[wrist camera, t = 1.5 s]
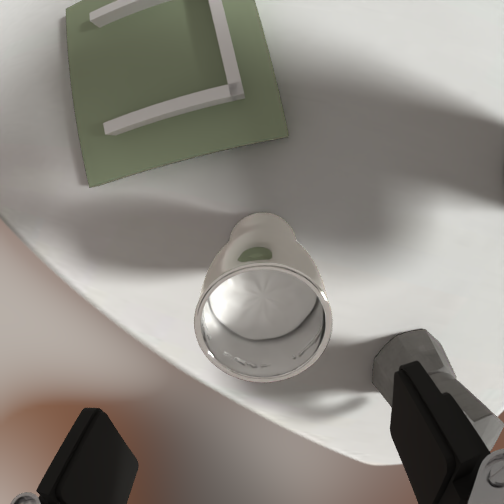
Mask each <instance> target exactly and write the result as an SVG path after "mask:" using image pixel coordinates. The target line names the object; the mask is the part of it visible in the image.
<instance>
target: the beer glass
mask: <svg viewBox="0 0 504 504" xmlns="http://www.w3.org/2000/svg"><path fill="white" fill-rule="evenodd" d="M332 325H333V319H332V311H331V307H330V304H329V301H328V299H327V294H326V290H325V287H324V283H323V280H322V278H321V275H320V272H319V270H318V268H317V266H316V264H315V262H314V261H313V259H312V258H311V256H310V254H309V253H308V252H307V251H306V249H305V248H304V247H303V246H302V245H300V244H299V243H298V242H297V241H296V236H295V233H294V231H293V229H292V228H291V226H290V225H289V224H288V223H287V222H286V221H285V220H284V219H283V218H281V217H279V216H277V215H275V214H272V213H266V212H260V213H254V214H251V215H249V216H246V217H245V218H243V219H242V220H240V221H239V222H238V223H237V224H236V226H235V227H234V229H233V230H232V232H231V235H230V239H229V242H228V243H227V244H226V245H225V246H224V247H223V248H222V249H221V250H220V251H219V252H218V254H217V255H216V256H215V258H214V260H213V262H212V263H211V265H210V267H209V269H208V271H207V274H206V276H205V279H204V282H203V285H202V289H201V293H200V297H199V301H198V304H197V307H196V310H195V316H194V329H195V334H196V338H197V341H198V343H199V346H200V348H201V349H202V351H203V353H204V354H205V355H206V357H207V358H208V359H209V360H210V361H211V362H212V363H213V364H214V365H215V366H216V367H218V368H219V369H220V370H222V371H223V372H225V373H227V374H229V375H231V376H233V377H236V378H238V379H242V380H246V381H251V382H275V381H280V380H284V379H288V378H290V377H293V376H295V375H297V374H299V373H301V372H303V371H304V370H306V369H307V368H309V367H310V366H311V365H312V364H313V363H314V362H315V361H316V360H317V359H318V358H319V357H320V356H321V355H322V353H323V352H324V350H325V348H326V346H327V344H328V342H329V340H330V336H331V332H332Z"/></svg>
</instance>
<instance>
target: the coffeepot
mask: <svg viewBox="0 0 504 504" xmlns="http://www.w3.org/2000/svg"><path fill="white" fill-rule="evenodd" d="M416 360H417V361H419V362H420V363H421V365H422V366H423V368H424V369H425V370H426V372H427V373H428V375H429V376H430V377H431V379H432V380H433V382H434V383H435V385H436V386H437V387H438V389H439V390H440V392H441V393H444V392H448V393H450V394H451V395H452V396H453V398H454V399H455V401H456V402H457V403H458V405H459V406H460V408H461V409H462V411H463V412H464V414H465V415H466V416H467V418H468V419H469V421H470V422H471V424H472V425H473V427H474V428H475V430H476V431H477V433H478V434H479V436H480V437H481V439H482V440H483V442H484V443H485V445H486V447H487V448H488V450H489V451H490V450H492V448H493V446H494V444H495V442H496V441H497V439H498V437H499V435H500V433H501V431H502V429H503V427H504V423H503V422H502V421H501V420H500V419H499V418H498V417H497V416H496V415H495V414H494V413H492V412H491V411H490V410H489V409H488V408H487V407H486V406H485V405H484V404H483V403H482V402H481V401H480V400H479V399H477V398H476V397H475V396H474V395H473V394H472V393H471V392H470V391H469V390H468V389H467V388H465V387H464V386H463V385H462V384H461V383H460V382H459V381H457V380H456V375H455V373H454V371H453V368H452V366H451V364H450V362H449V360H448V358H447V356H446V353H445V351H444V349H443V347H442V345H441V343H440V342H439V341H437V340H436V339H435V338H434V337H433V336H432V335H431V334H430V333H429V332H428V331H427V330H425V329H424V330H415V331H409V332H406V333H403V334H401V335H397V336H396V337H394V338H393V339H392V340H391V341H390V342H388V343H387V344H386V345H385V346H384V347H383V349H382V350H381V351H380V352H379V354H378V355H377V356H376V357H375V358H374V365H373V381H372V383H373V384H374V385H375V387H376V388H377V389H378V390H379V392H380V393H381V394H382V395H383V397H384V398H385V399H386V401H387V402H388V403H389V404H390V406H391V407H392V400H393V385H394V373H395V372H397V371H399V367H400V366H401V365H404V364H407V363H410V362H413V361H416Z"/></svg>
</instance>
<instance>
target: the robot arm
mask: <svg viewBox="0 0 504 504" xmlns="http://www.w3.org/2000/svg"><path fill="white" fill-rule="evenodd" d="M390 432H391V436H392V439H393V441H394V444H395V446H396V449H397V451H398V453H399V456H400V458H401V461H402V463H403V465H404V468H405V471H406V473H407V475H408V478H409V481H410V483H411V485H412V488H413V491H414V493H415V495H416V498H417V501H418V504H504V449H500V450H497V451H494V452H492V453H490V451H489V450H488V448H487V447H486V445H485V443H484V442H483V440H482V439H481V437H480V436H479V434H478V433H477V431H476V430H475V428H474V427H473V425H472V424H471V422H470V421H469V419H468V418H467V416H466V415H465V414H464V412H463V411H462V409H461V408H460V406H459V405H458V403H457V402H456V401H455V399H454V398H453V396H452V395H451V394H450V393H448V392H444V393H441V392H440V390H439V389H438V387H437V386H436V385H435V383H434V382H433V380H432V379H431V377H430V376H429V375H428V373H427V372H426V370H425V369H424V368H423V366H422V365H421V363H420V362H419V361H417V360H416V361H413V362H410V363H407V364H404V365H401V366H400V367H399V371H397V372H395V373H394V385H393V400H392V413H391V424H390ZM137 470H138V461H137V459H136V458H135V456H134V455H133V454H132V452H131V450H130V449H129V448H128V446H127V445H126V443H125V442H124V440H123V439H122V437H121V436H120V434H119V433H118V431H117V430H116V428H115V427H114V425H113V423H112V422H111V420H110V419H109V417H108V415H107V414H106V413H105V412H103V411H102V410H101V409H100V408H84V409H83V410H82V411H81V413H80V415H79V417H78V418H77V420H76V421H75V423H74V425H73V426H72V428H71V430H70V432H69V433H68V435H67V437H66V438H65V440H64V442H63V444H62V445H61V447H60V449H59V451H58V452H57V454H56V456H55V457H54V459H53V461H52V463H51V465H50V466H49V468H48V470H47V472H46V474H45V475H44V477H43V479H42V481H41V483H40V485H39V486H38V488H37V492H38V493H39V494H40V496H39V498H38V497H37V496H36V495H35V494H33V493H28V492H25V493H21V494H19V495H18V496H16V497H15V498H14V499H13V501H12V502H11V504H127V501H128V498H129V494H130V492H131V488H132V486H133V482H134V479H135V476H136V473H137Z"/></svg>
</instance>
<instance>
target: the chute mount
mask: <svg viewBox="0 0 504 504" xmlns="http://www.w3.org/2000/svg"><path fill="white" fill-rule="evenodd" d="M66 28H67V46H68V59H69V70H70V79H71V88H72V96H73V103H74V110H75V117H76V123H77V129H78V135H79V140H80V145H81V151H82V156H83V161H84V165H85V170H86V175H87V179H88V183H89V188H91V187H96V186H100V185H103V184H106V183H109V182H112V181H115V180H118V179H121V178H124V177H128V176H131V175H134V174H137V173H141V172H144V171H147V170H151V169H154V168H158V167H161V166H165V165H168V164H172V163H176V162H179V161H183V160H187V159H191V158H195V157H199V156H203V155H207V154H211V153H215V152H219V151H223V150H228V149H232V148H237V147H241V146H246V145H250V144H255V143H260V142H265V141H270V140H275V139H281V138H286V137H288V136H289V134H288V129H287V125H286V120H285V116H284V112H283V107H282V103H281V99H280V94H279V90H278V86H277V82H276V78H275V74H274V70H273V66H272V62H271V58H270V54H269V50H268V47H267V43H266V39H265V35H264V32H263V28H262V24H261V21H260V17H259V14H258V10H257V7H256V3H255V0H82V1H80V2H78V3H76V4H74V5H72V6H71V7H69V8H67V9H66Z"/></svg>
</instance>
